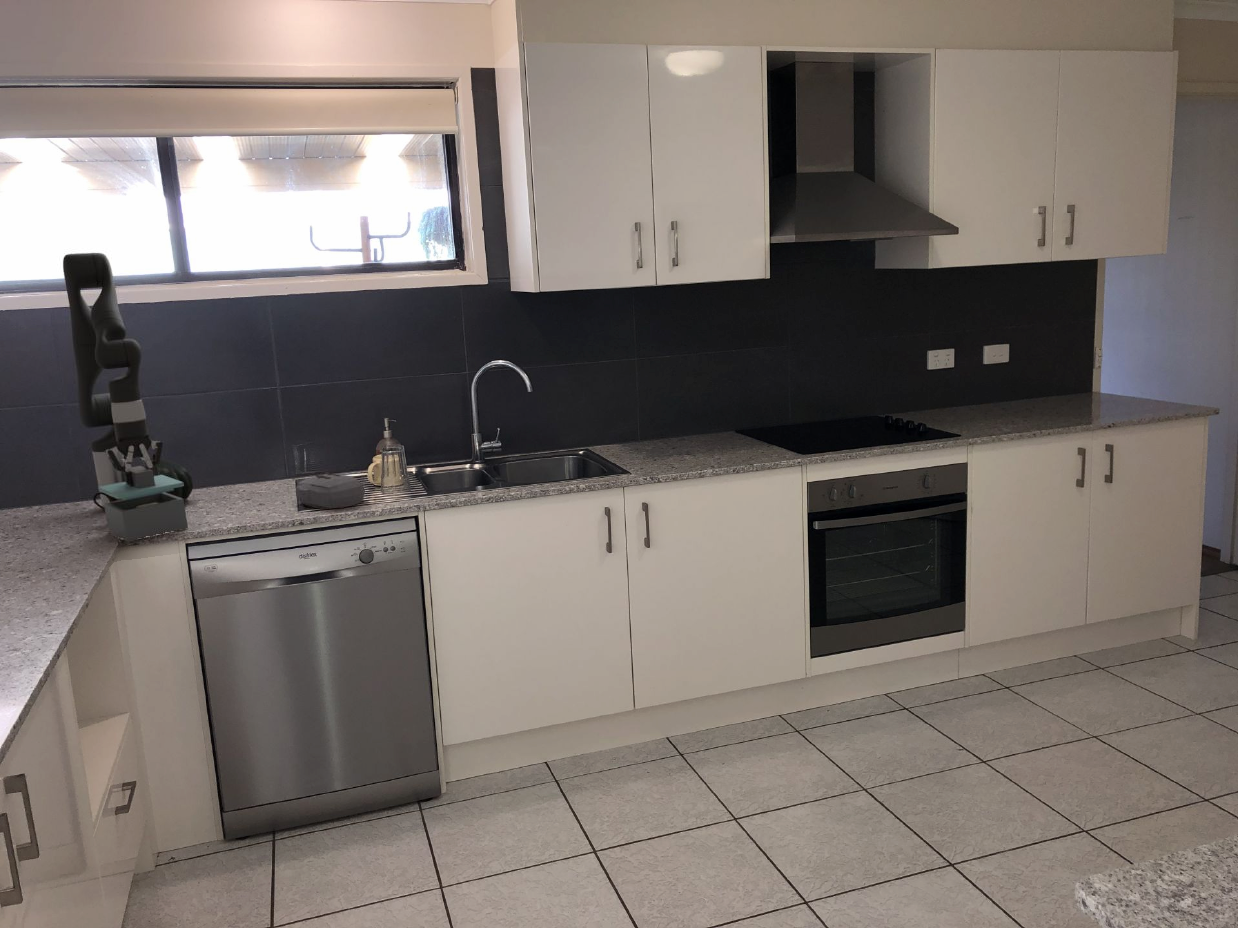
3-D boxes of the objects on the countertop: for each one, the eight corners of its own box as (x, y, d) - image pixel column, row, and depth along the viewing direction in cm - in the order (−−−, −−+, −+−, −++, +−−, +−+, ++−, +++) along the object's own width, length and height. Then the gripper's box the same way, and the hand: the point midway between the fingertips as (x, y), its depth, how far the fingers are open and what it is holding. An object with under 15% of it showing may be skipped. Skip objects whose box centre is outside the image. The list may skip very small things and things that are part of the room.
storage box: (109, 533, 259) (103, 503, 258) (168, 520, 269) (163, 491, 268) (127, 542, 248) (121, 511, 247) (188, 528, 258) (183, 498, 257)
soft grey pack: (290, 506, 277) (332, 514, 264) (286, 477, 275) (328, 483, 263) (335, 494, 288) (378, 501, 276) (332, 466, 287) (374, 471, 274)
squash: (210, 479, 294) (172, 443, 292) (184, 493, 279) (143, 456, 278) (182, 511, 297) (144, 476, 296) (155, 526, 283) (114, 490, 281)
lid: (99, 494, 257) (95, 471, 256) (163, 482, 268) (159, 460, 267) (118, 503, 246) (114, 479, 244) (184, 489, 256) (180, 467, 255)
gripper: (153, 413, 260) (163, 476, 264) (95, 421, 251) (106, 487, 254) (163, 415, 255) (173, 480, 258) (103, 424, 245) (115, 491, 249)
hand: (140, 483), depth 256 cm, fingers closed on lid, 4 cm apart
